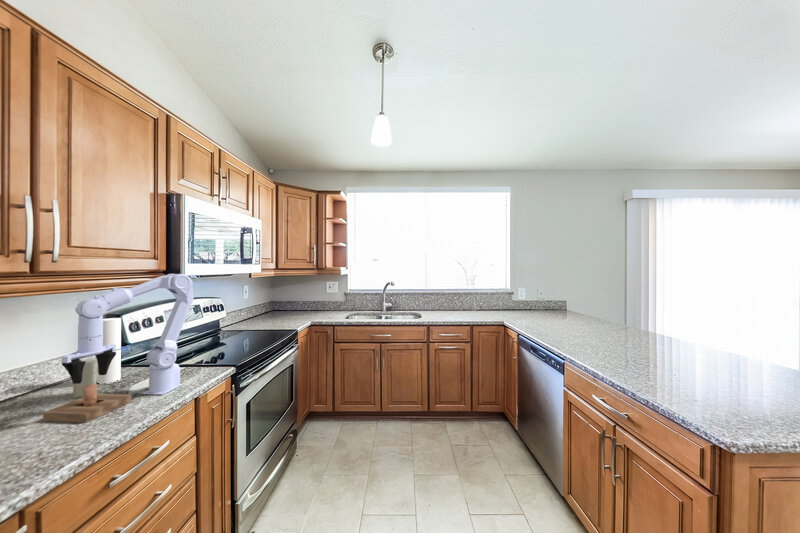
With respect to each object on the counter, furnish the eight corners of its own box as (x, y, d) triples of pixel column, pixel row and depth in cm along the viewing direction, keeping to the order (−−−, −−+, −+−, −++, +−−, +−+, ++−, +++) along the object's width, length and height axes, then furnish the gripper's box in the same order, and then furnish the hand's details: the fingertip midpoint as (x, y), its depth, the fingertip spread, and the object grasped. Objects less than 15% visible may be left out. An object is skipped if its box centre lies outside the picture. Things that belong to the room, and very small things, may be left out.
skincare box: (80, 392, 113) (81, 359, 113) (96, 390, 115) (97, 357, 115) (72, 398, 108) (72, 363, 108) (89, 396, 110) (89, 362, 110)
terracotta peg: (90, 408, 100) (90, 384, 100) (99, 408, 100) (99, 384, 100) (80, 412, 97) (80, 387, 97) (89, 413, 97) (89, 387, 97)
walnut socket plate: (93, 400, 106) (93, 393, 106) (131, 402, 105) (131, 394, 105) (43, 420, 92) (43, 412, 92) (86, 422, 91) (86, 414, 91)
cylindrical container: (118, 381, 124) (119, 319, 124) (94, 385, 120) (95, 321, 120) (122, 376, 130) (122, 317, 130) (98, 379, 126) (99, 318, 126)
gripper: (102, 331, 106) (102, 370, 106) (52, 341, 91) (51, 387, 91) (121, 332, 105) (121, 371, 105) (73, 342, 91) (73, 387, 91)
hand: (90, 378), depth 98 cm, fingers open, 7 cm apart
